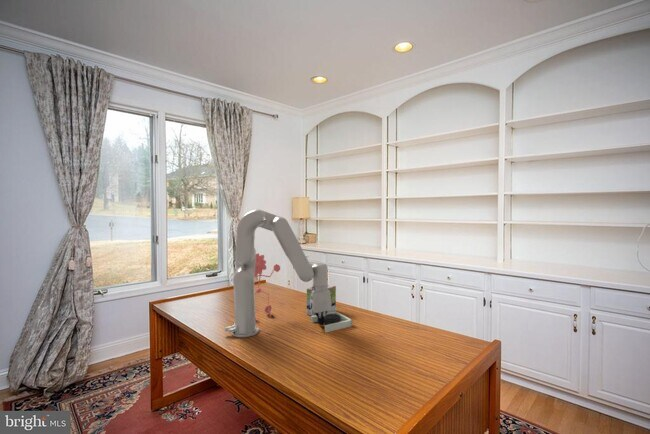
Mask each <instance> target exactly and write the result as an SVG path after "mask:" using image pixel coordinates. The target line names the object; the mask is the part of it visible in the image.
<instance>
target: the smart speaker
mask: <svg viewBox="0 0 650 434" xmlns="http://www.w3.org/2000/svg"><path fill="white" fill-rule="evenodd" d="M337 322H342V321H341V317H340V316H339V315H336V314H328V315H325V317H324V325H323V326H325V325H328V324H333V323H337Z"/></svg>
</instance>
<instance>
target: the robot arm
mask: <svg viewBox="0 0 650 434" xmlns="http://www.w3.org/2000/svg"><path fill="white" fill-rule="evenodd" d="M258 228H261V229H264V230H267V231H270V232H273V234H274V236H275V237H276V239H277V241H278V243H279V245H280V247H281V248H282V251H283V252H284V254H285V256H286V257H287V259H288V260H289V262H290V264H291V266H292V267H293V269H294V270H295V273H296V274H297V277H298V278H299V280H300V281H302V282H304V283H308V282H310V281H312V286H311V287H309V288H310V289H311V290H313V291H312V293H311V301H310V309H311V314H312V315H316V316H317V319H318V322H317V324H318V325H319V326H325V325H324V317H325V315H326V313H327V312H329V311H330V310H331V307H332V306H331V296H330V291H329V290H328V285H329V282H328V281H329V280H328V279H329V277H328V275H329V273H328V265H327V264H326V263H323V262H320V263H319V262H318V263H317V262H316V263H310V262H309V261H308V258H307V256H306V255H305V251H304V250H303V249H302V248H303V247H302V245H301V244H300V241H299V239H298V238H297V236H296V235H295V233H294V231H293V229H292V227H291V226H290V224H289V222H288V220H287V218H285V217H282V216H280V215H276V214H273V213H270V212H267V211H264V210H261V209H257V208H256V209H253V210H250V211H249V212H247V213H245V214H244V215H243V216H242V217H241V218H240V219H239V222H238V223H237V227H236V237H235V253H234V257H235V258H234V259H235V260H236V264H235V266H236V267H235V272H234V274H233V279H232V284H233V285H232V286H233V297H234V298H233V299H234V300H233V302H234V304H233V305H234V323H233V325H231V326H225V327H224V332H228V333H231V335H232V336H233V337H236V338H248V337H253V336H255V335H257V334H258V333H259V332H260V328H259V327H258V326H256V321H255V317H256V299H255V297H256V296H255V295H256V294H255V293H256V291H255V278H256V277H255V261H256V254H257V251H256V248H255V237H256V236H255V234H256V231H257V229H258ZM254 277H255V278H254ZM320 312H321V313H320Z"/></svg>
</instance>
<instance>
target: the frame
mask: <svg viewBox="0 0 650 434" xmlns="http://www.w3.org/2000/svg"><path fill="white" fill-rule="evenodd" d="M328 314H336V315H339V316H340V317H341V322H337V323H333V324H328V325H324V332H325V333H328V332H333V331H336V330H341V329H342V330H343V329H346V328H351V327H353V319H351V318H349V317H347V316H346V315H345V314H342V313H340V312H338V311H334V312H330V313H326V315H328ZM310 322H311V323H318V319H317V316H316V315H315V316H311V315H310Z"/></svg>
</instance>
